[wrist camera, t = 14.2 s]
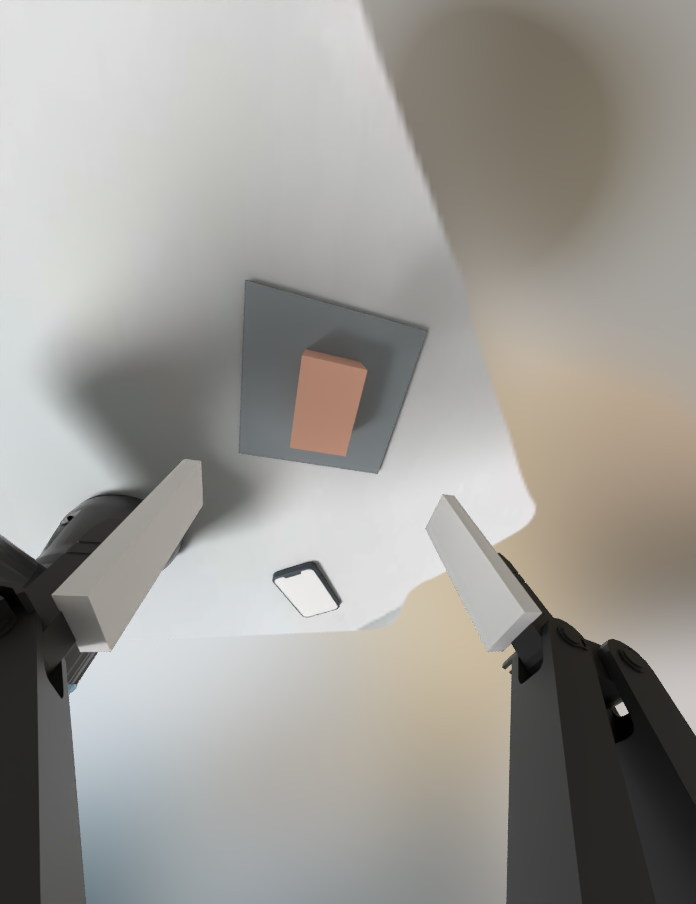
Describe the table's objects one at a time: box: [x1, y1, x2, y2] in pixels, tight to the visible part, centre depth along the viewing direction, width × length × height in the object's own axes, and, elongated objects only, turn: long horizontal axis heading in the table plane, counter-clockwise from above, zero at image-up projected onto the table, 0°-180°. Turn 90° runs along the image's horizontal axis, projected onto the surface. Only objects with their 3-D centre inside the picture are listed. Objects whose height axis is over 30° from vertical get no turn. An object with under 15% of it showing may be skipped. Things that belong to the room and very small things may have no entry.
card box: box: [290, 349, 368, 456], centre depth 28 cm, size 10×6×6 cm, turn 167°
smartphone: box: [272, 562, 339, 617], centre depth 50 cm, size 9×2×16 cm
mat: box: [239, 280, 427, 474], centre depth 31 cm, size 20×20×1 cm
